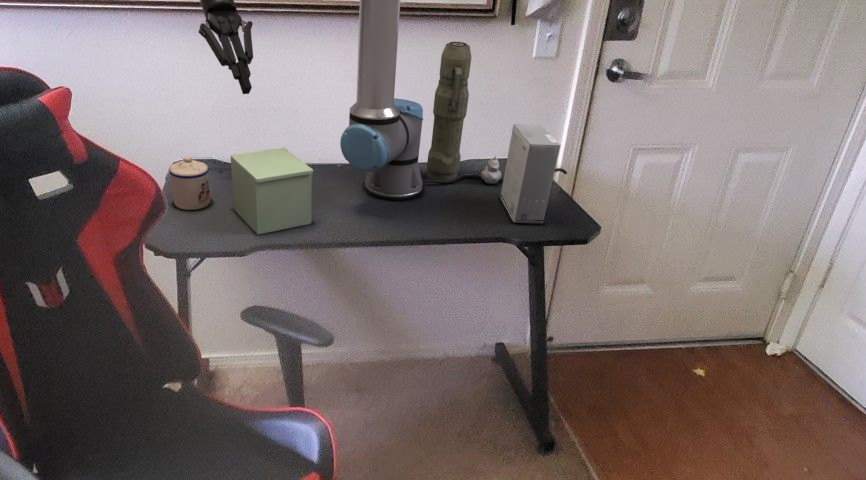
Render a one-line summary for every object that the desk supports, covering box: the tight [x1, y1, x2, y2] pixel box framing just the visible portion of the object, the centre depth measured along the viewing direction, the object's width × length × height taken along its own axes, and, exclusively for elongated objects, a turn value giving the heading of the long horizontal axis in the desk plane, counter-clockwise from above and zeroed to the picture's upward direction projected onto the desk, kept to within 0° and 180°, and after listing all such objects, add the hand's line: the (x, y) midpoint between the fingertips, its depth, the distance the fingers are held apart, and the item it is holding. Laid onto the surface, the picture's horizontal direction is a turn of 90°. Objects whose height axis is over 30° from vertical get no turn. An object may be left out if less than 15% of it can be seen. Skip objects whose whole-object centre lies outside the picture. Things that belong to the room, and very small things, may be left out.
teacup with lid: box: [168, 155, 211, 211], centre depth 160 cm, size 12×9×12 cm
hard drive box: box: [499, 123, 562, 224], centre depth 163 cm, size 16×8×20 cm, turn 4°
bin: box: [230, 158, 313, 235], centre depth 155 cm, size 15×14×13 cm
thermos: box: [426, 41, 472, 180], centre depth 175 cm, size 9×12×35 cm
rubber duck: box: [480, 155, 502, 185], centre depth 181 cm, size 5×7×8 cm
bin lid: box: [229, 147, 314, 183], centre depth 151 cm, size 15×14×1 cm
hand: (247, 90), depth 152 cm, fingers closed
